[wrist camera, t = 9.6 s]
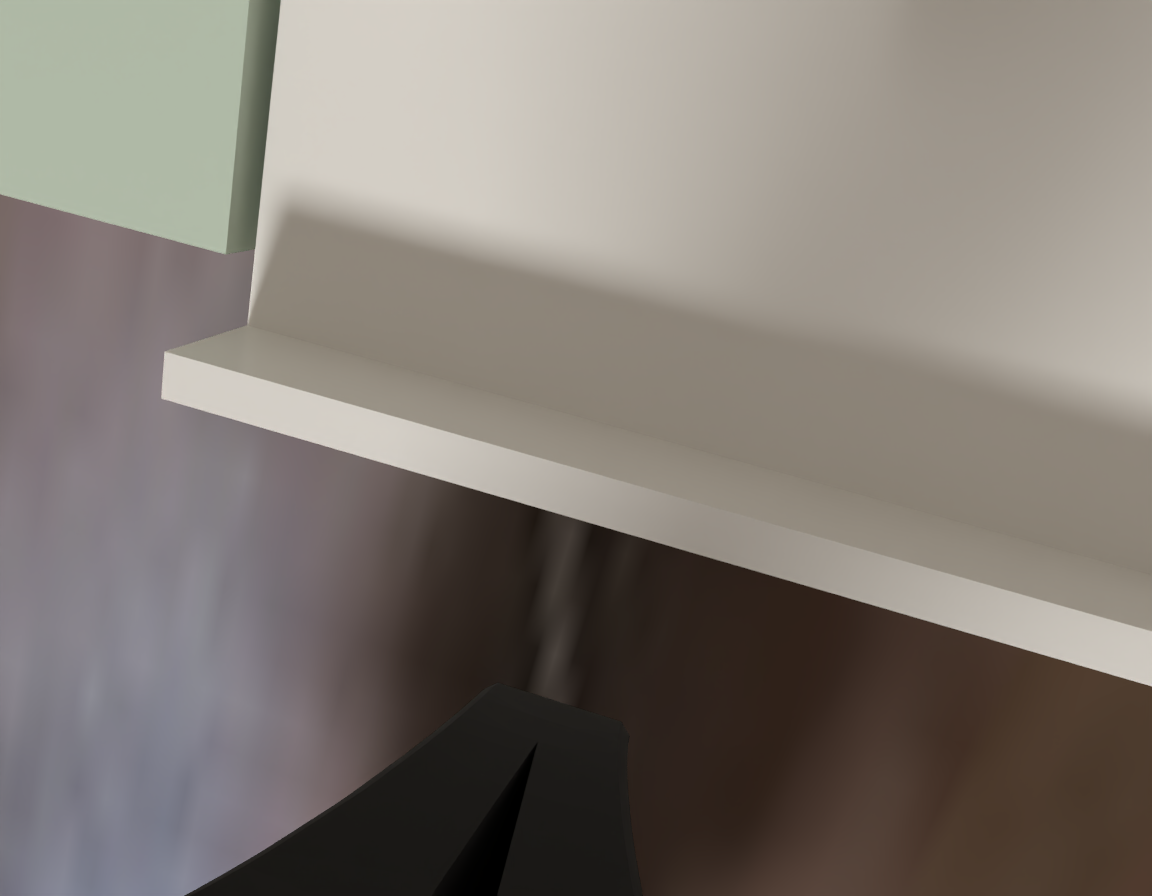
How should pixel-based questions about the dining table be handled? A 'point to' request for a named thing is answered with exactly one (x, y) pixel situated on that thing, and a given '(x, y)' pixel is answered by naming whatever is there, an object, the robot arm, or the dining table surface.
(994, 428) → the box
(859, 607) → the dining table surface
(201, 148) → the cover plate
